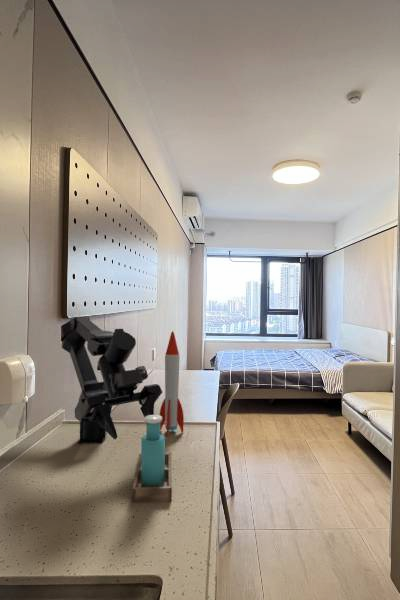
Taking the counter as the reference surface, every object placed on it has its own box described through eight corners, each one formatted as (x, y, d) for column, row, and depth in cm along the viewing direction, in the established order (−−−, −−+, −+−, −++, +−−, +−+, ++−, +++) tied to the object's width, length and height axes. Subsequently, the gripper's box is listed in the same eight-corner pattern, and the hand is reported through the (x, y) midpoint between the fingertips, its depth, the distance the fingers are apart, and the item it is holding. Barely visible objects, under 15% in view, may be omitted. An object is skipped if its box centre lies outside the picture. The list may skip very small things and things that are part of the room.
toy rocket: (183, 433, 100) (186, 331, 100) (167, 436, 97) (169, 332, 97) (174, 427, 105) (177, 330, 105) (158, 430, 102) (160, 330, 102)
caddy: (132, 502, 66) (132, 489, 66) (138, 464, 81) (139, 453, 81) (171, 501, 66) (171, 487, 66) (170, 463, 82) (171, 452, 82)
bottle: (143, 495, 67) (144, 422, 67) (138, 483, 71) (139, 415, 71) (167, 490, 69) (167, 419, 69) (160, 478, 73) (161, 412, 73)
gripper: (86, 359, 74) (106, 425, 66) (159, 352, 86) (184, 406, 77) (73, 387, 80) (90, 450, 72) (142, 376, 92) (164, 430, 84)
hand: (135, 433), depth 76 cm, fingers open, 9 cm apart
